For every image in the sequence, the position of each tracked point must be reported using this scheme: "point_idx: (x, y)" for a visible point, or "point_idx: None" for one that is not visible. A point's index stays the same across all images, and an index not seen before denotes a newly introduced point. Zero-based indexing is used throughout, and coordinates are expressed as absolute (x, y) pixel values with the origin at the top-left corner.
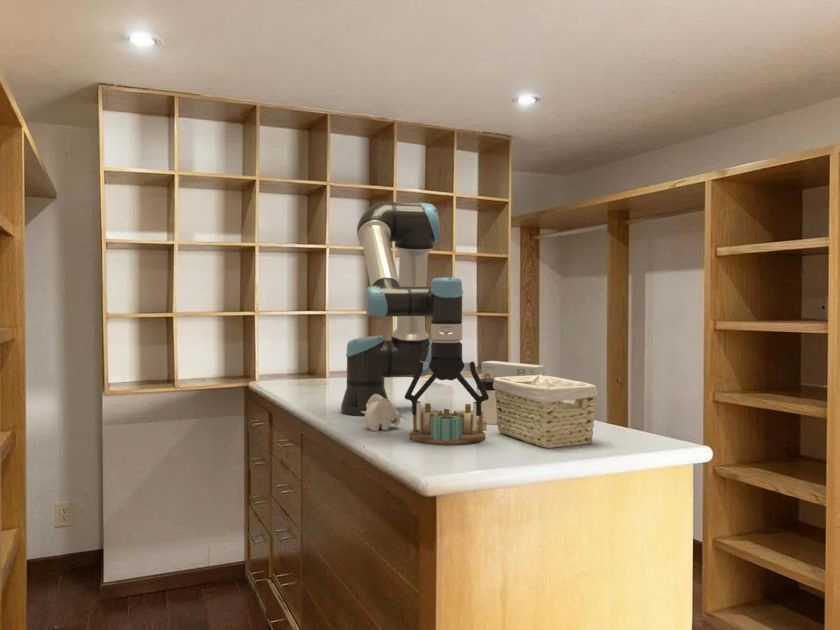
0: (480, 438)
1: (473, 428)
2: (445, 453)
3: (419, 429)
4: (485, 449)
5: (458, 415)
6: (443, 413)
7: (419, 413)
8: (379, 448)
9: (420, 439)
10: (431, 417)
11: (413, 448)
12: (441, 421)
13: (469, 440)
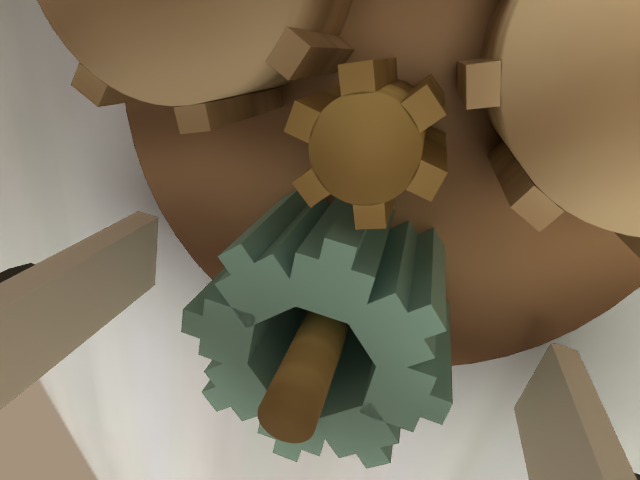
0: (586, 319)
1: (518, 419)
2: (299, 467)
3: (153, 285)
4: (514, 469)
5: (508, 141)
6: (322, 122)
7: (71, 349)
8: None
9: (193, 255)
10: (186, 321)
11: (172, 349)
12: None
13: (477, 359)
